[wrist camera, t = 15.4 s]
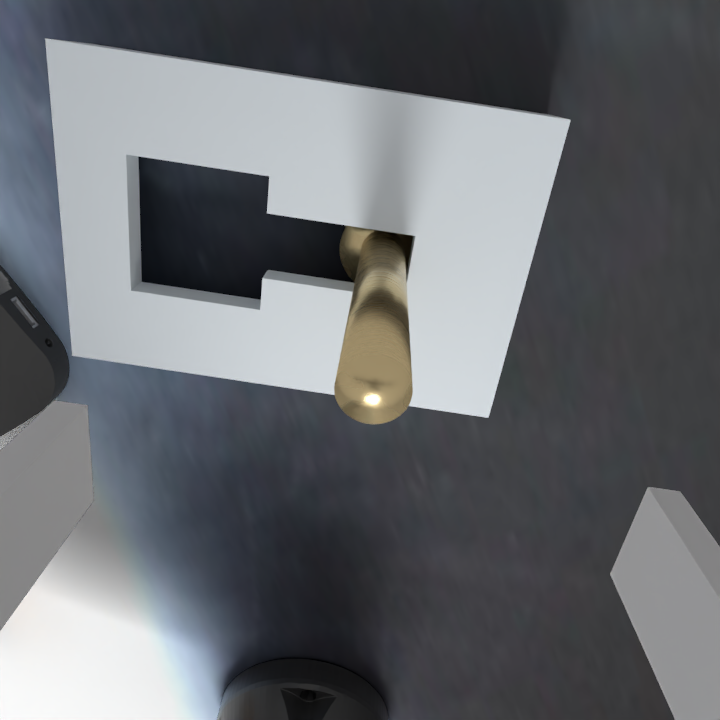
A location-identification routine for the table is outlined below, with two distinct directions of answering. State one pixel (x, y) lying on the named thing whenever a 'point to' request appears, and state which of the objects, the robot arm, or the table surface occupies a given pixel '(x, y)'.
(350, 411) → the brass peg
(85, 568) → the table surface
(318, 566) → the table surface
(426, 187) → the keyhole plate
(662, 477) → the table surface
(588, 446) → the table surface
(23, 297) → the media streaming box
